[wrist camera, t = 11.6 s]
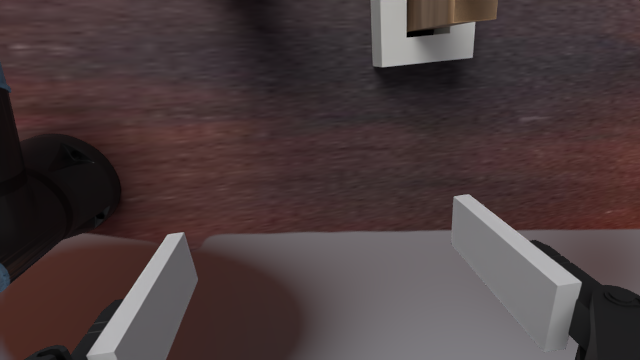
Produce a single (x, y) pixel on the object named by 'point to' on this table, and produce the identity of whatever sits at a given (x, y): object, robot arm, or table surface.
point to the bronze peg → (447, 13)
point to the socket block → (414, 38)
